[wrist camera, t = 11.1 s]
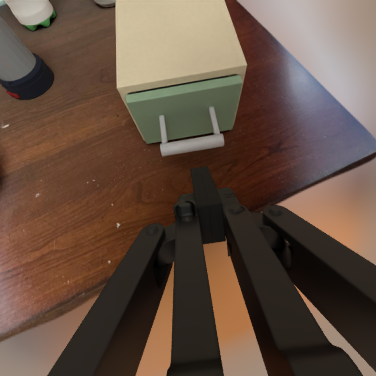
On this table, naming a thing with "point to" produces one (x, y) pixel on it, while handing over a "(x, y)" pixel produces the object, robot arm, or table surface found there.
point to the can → (106, 3)
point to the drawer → (187, 113)
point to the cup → (32, 12)
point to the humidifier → (21, 67)
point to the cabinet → (174, 44)
